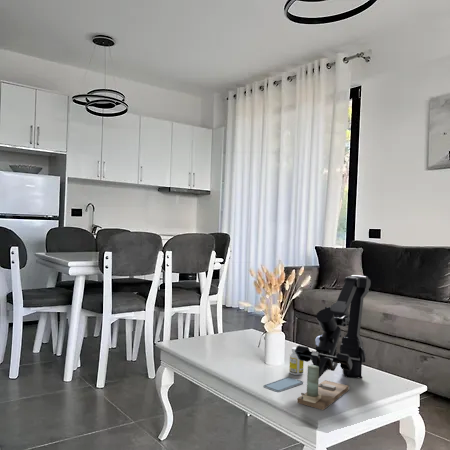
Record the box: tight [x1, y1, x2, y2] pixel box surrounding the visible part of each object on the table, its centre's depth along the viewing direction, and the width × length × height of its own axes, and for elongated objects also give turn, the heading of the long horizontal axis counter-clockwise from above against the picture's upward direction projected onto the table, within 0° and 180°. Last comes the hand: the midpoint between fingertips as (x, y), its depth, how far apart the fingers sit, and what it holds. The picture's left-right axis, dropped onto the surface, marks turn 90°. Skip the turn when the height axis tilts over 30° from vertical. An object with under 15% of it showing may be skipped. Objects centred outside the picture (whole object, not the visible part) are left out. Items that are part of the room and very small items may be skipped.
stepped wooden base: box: [296, 380, 350, 411], centre depth 156 cm, size 24×9×2 cm, turn 146°
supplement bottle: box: [288, 346, 305, 376], centre depth 181 cm, size 5×5×10 cm
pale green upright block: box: [300, 364, 321, 403], centre depth 149 cm, size 5×6×10 cm
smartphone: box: [263, 376, 304, 393], centre depth 166 cm, size 7×1×15 cm
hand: (315, 379), depth 150 cm, fingers closed, pressing on pale green upright block
